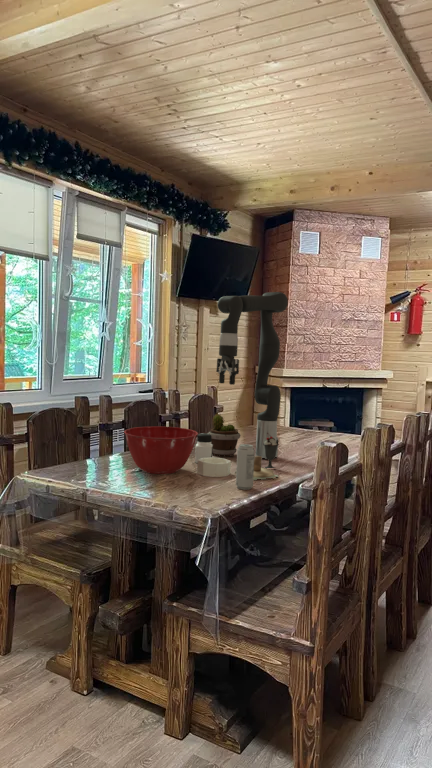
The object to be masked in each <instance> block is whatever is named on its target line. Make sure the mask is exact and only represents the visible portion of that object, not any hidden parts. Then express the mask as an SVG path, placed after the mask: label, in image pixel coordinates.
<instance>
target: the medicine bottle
mask: <svg viewBox="0 0 432 768" xmlns="http://www.w3.org/2000/svg"><path fill="white" fill-rule="evenodd" d="M211 439H212V436H211V435H210V434H208V433H198V435H197V437H196V441H197V442H196V444H195V446H194V448H195V450H194V463H196V464H198V460H199V459H201V458H210V457H213V454H212V449H213V445H212V444H211Z"/></svg>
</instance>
